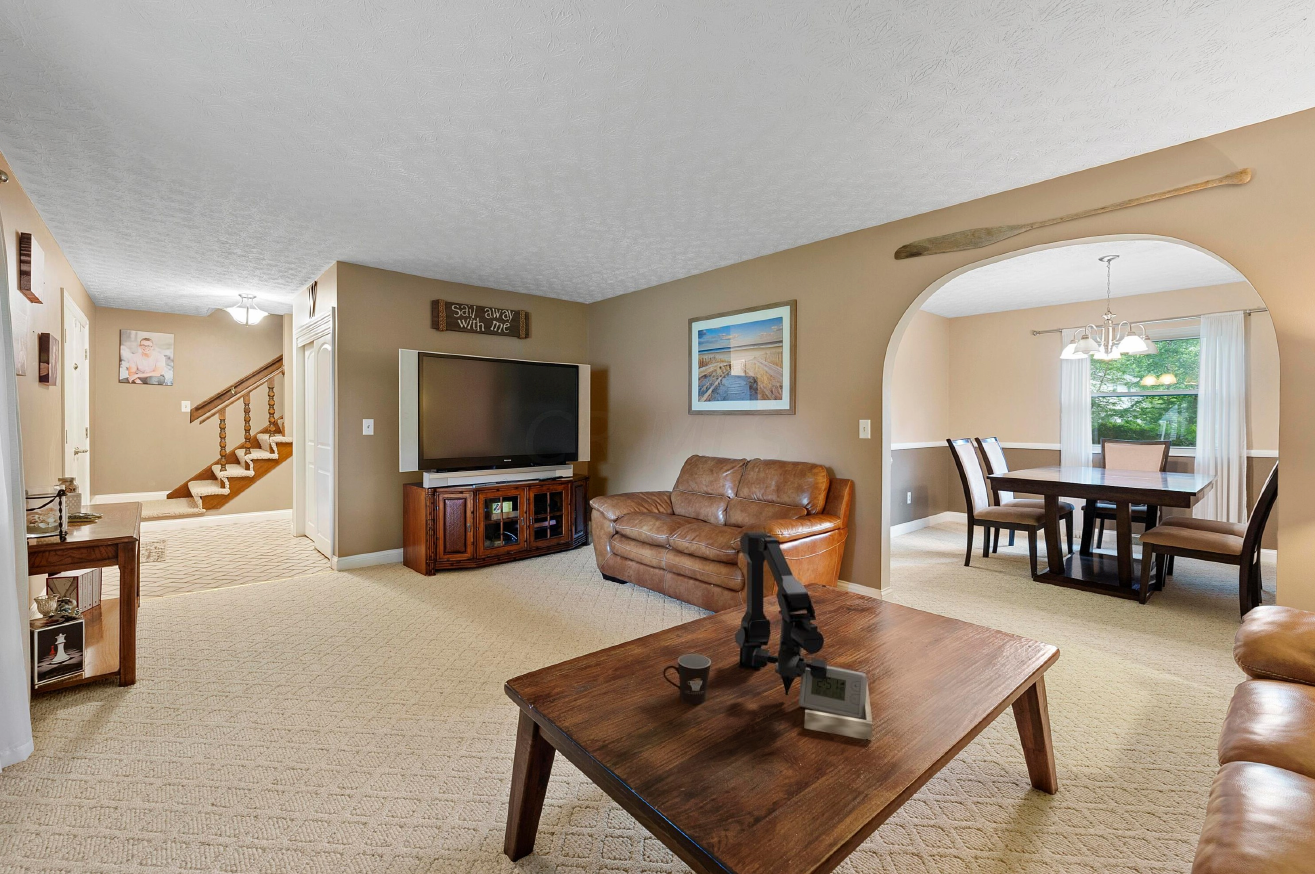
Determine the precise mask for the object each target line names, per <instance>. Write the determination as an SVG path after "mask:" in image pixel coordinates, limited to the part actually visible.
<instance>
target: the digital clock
mask: <svg viewBox="0 0 1315 874" xmlns="http://www.w3.org/2000/svg"><path fill="white" fill-rule="evenodd" d="M867 683H868V676H867V674H866V673H864V672H859V671H855V670H851V669H850V668H849V669H848V668H843V667H838V666H832V665H828V664H827V673H826V679H818V678H813V677H812V675H811V674H810V670H805V673H802V674H801V677H800V684H799V685H800V686H799V687H800V688H799V698H798V703H799V704H798V705H799V706H800V707H802V708H805V709H808V710H812V711H817V712H823V713H828V714H834V715H840V716H845V717H851V718H857V719H863V720H864V716H865V703H866V687H867Z"/></svg>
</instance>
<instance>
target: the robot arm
mask: <svg viewBox="0 0 1315 874" xmlns="http://www.w3.org/2000/svg"><path fill="white" fill-rule="evenodd" d="M739 544H740V548H741V549H740V550H741V554H742V556H743V557H744V558H745V560H746V611H745V613H744V614H743V617H742V618H741V621H740V628H738V630H737V631H736V633H734V642H735V643H736V644H737V645H738V646H739V662H738V664H737V666H738V667H739V668H746V669H752V670H756V671H757V670H759V671H760V670H761V669H762V668H763V669H764V668H765V667H767V666H768V664H769V663H770V664H774V665H775V668H774V669H775V670H774V672H775V673H776V674H778V675H779V676H780V677H781V680H782V684H783V687H784V694H785V696H788V695H789V692H790V688H792V687H791V686H792V685H793V683H794V681H795V680H796V679H797V678H801V674H802V673H805V670H810V674H811V675H812V677H813V678H818V679H826V673H827V665H828V663H827V660H825V659H819V658H815V657H814V658H813V657H812V658H811V662H809V661H807V658H806V657H805V658H804V657H802V653H803V650H804V651H805V652H806V653H807V654H809V655H814V654H817V653H818V652H820V651H821V650H822V649H823V648H824V647H823V646H824V644H825V639H824V636H823V634H822V633H821V632H820V631H819V630H818V629H819V627H818V626H817V624H814V623H812V621H816V620H817V617H816V611H815V608H814V605H813V603H812V600H811V597H810V594H809V592H808V590H807V589H806V588H805V586H804V584H803V583H802V582H800V581H799V580H797V578H796V577H795V576H794V574H793V573H792V569H791V567H790V566H789V563H788V561H787V560H786V556H785V555H784V553H783V550H782V548H781V543H780V539H779V538H777V537H775V536H773V535H768V533H767V532H766V531H749V532H748V531H745V532H744V533H743V535H741V536H740V539H739ZM765 561H766V562H767V565H768V567H769V570H770V571H771V574H772V577H773V579H774V581H775V584H776V586H777V590H776V598H777V604H778V607H779V609H780V610H778V614H779V615H781V623H780V635H779V636H780V638H779V647H778V648H779V649H778V652H777V655H773V654H771V653H770V652H771V651H770V650H771V649H765V648H763V647H764V646H768V645H769V641H770V637H771V634H772V633H771V620H770V619H768V617H767V616H766V614H765V612H764V611H765V610H764V609H765V608H764V602H765V601H764V600H765V599H764V593H765V591H764V587H765V585H764V583H765V582H764V581H765V579H764V578H765V577H764V576H765V575H764V574H765V573H764V572H765V570H764V569H765V567H764V566H765V565H764V564H765ZM800 612H801V613H800ZM802 612H803V613H802Z"/></svg>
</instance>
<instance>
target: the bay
mask: <svg viewBox="0 0 1315 874" xmlns="http://www.w3.org/2000/svg"><path fill="white" fill-rule="evenodd" d="M871 709H872V708H871V700H870V693H869V686H868V682H867V687H866V703H865V716H864V719H857V718H851V717H845V716H840V715H834V714H828V713H823V712H817V711H813V710H812V709H805V710H804V726H803V727H804V729H807V730H811V731H816V732H817V731H818V732H824V733H827V734H835V735H841V736H845V737H850V738H856V739H860V740H866V739H868V740H867V741H871V740H873V739H872V738H873V726H874V725H873V724H874V723H873V715H872V710H871Z"/></svg>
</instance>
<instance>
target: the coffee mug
mask: <svg viewBox="0 0 1315 874" xmlns="http://www.w3.org/2000/svg"><path fill="white" fill-rule="evenodd" d="M711 665H712V660H711V659H710V658H709V657H707V656H705V655H702V654H697V653H687V654H683V655H681V656H679V657H678V658H677V666H678V667H677V666H675V665H667V666H666V667H664V669H663V672H662V675H663V677H664V679H665V680H666V681H667V682H668V683H669V684H671V685H673V686H674V687H675V688H677V689H678V690H679V693H680V700H681V701H682V702H683V703H685V704H687V705H694V706H696V705H697V706H698V705H701V704H703V703H704V702H705V700H706V695H707V689H708V683H709V677H710V671H711ZM669 669H674V670H675V671H676V673H677V674H678V679H679V681H678V682H679V685H678V684H676V683H675V682H673V681H672V680H670V679H669V678H668V676H666V672H667V670H669Z"/></svg>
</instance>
